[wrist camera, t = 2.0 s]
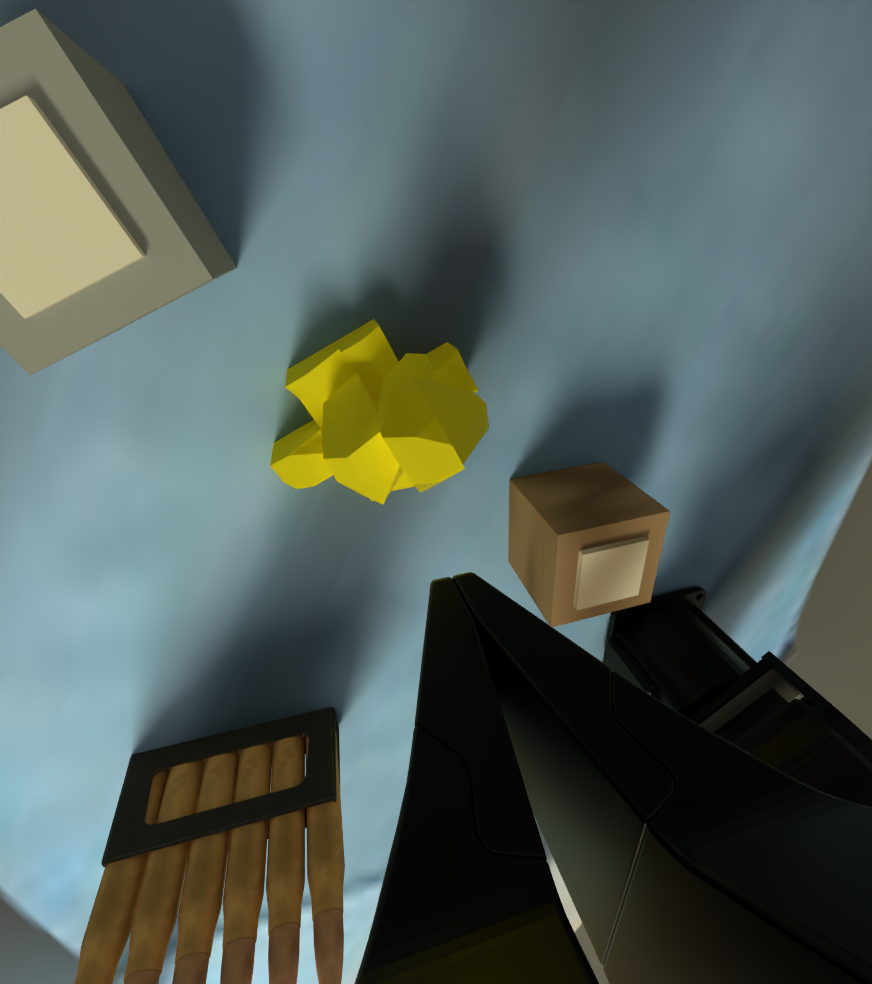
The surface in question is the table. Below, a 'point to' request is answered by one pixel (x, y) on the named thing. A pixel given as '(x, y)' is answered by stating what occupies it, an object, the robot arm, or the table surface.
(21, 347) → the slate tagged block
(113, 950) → the ammunition clip
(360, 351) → the crumpled paper
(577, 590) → the walnut tagged block
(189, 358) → the table surface
